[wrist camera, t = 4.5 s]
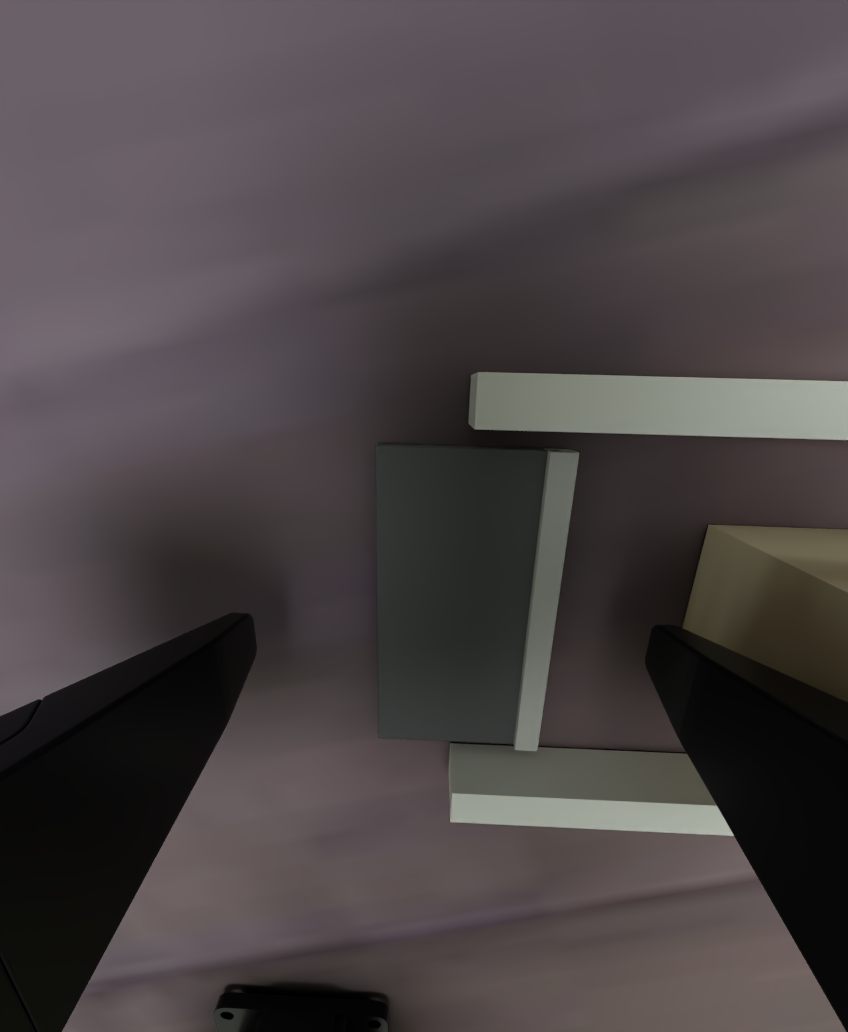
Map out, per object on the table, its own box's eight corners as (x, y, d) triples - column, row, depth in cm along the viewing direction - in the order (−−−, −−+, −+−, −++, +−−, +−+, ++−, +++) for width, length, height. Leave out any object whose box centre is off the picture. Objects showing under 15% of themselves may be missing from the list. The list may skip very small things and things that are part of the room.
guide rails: (1005, 795, 11) (1087, 852, 10) (448, 769, 12) (450, 822, 10) (1252, 395, 8) (1426, 395, 7) (471, 375, 8) (478, 371, 7)
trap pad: (532, 733, 11) (537, 751, 11) (380, 726, 11) (377, 744, 11) (570, 449, 9) (579, 452, 8) (377, 443, 9) (374, 446, 8)
